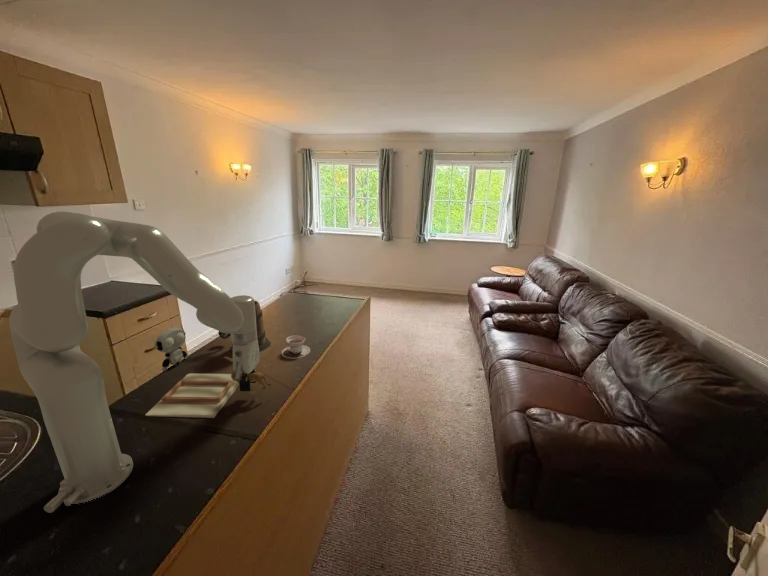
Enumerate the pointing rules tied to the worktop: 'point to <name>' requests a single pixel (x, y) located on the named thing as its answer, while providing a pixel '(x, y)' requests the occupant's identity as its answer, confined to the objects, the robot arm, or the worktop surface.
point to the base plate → (196, 396)
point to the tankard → (261, 338)
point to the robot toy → (171, 346)
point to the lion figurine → (252, 378)
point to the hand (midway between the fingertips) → (248, 386)
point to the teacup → (296, 345)
